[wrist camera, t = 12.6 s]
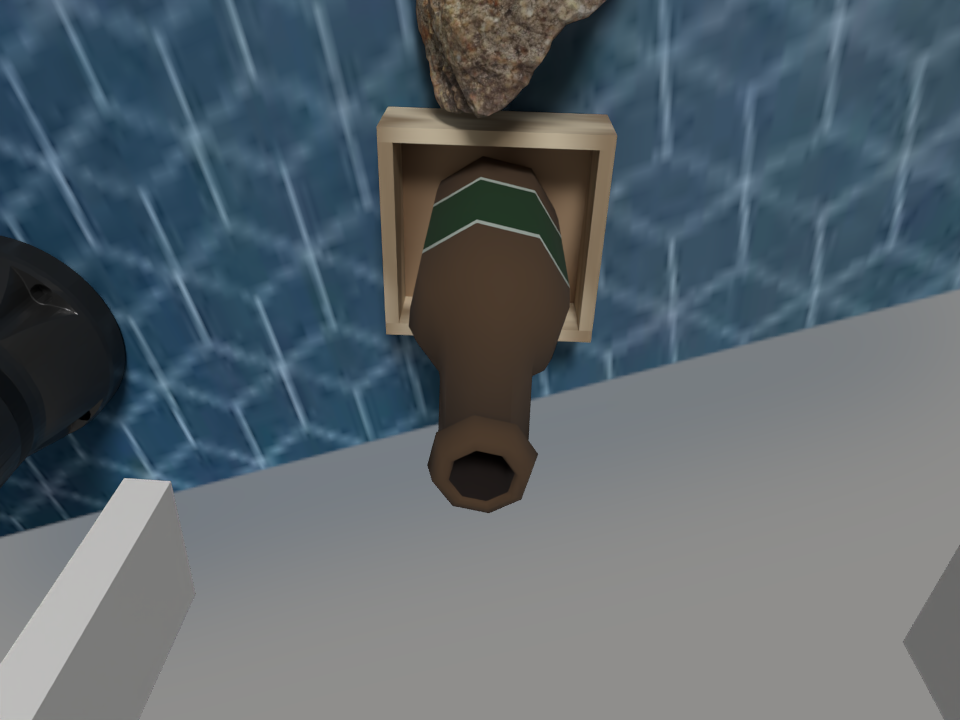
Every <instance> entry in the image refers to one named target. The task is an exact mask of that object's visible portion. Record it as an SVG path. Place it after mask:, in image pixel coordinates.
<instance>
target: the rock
mask: <svg viewBox="0 0 960 720" xmlns="http://www.w3.org/2000/svg"><path fill="white" fill-rule="evenodd" d="M605 1H606V0H416V14H417V23H418V29H419V32H420V34H421V36H422V40H423V43H424V45H425V51H426V58H427V59H428V61H429V66H430V77H431V80H432V84H433V87H434V94H435V98H436V100H437V102H438V103H439V105H440V107H441V109H445V110H447V111H448V112H453V113H456V114H461V113H463V112H465V113H474V115H475V116H476V117H477V118H481V117H486V116H490V115H491V114H493V113H495V112H498V111H501V110H502V109H503V108H505V107H506V106H507V105H508V104H509V103H510V102H511V101H512V100H513V99H515V98H516V97H517V95H518V94H519V93H520V91H521V90H522V89H523V88H524V87H526V86H527V85H528V83H529V81H530V79H531V77H532V75H533V73H534V70H535V69H536V68H537V67H538V66H539V64H540V63H541V62H542V61H543V59H544V58H545V56H546V54H547V53H548V51H549V50H550V47H551V43H552V41H553V40H554V39H555V37H556V36H557V35H558V34H559V33H560V32H561V31H562V29H563V28H564V27H565V26H566V25H567V24H570V23H573V22H575V21H578V20H582V19H585V18H587V17H589V16H590V15H591V14H592V13H593V12H595V11H596V10H597V9H598V8H599V7H600V6H601V5H602V4H603V3H604V2H605Z"/></svg>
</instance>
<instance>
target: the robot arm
mask: <svg viewBox="0 0 960 720" xmlns="http://www.w3.org/2000/svg"><path fill="white" fill-rule="evenodd" d="M124 369H125V350H124V344H123V340H122V336H121V333H120V330H119V328H118V325H117V323H116V321H115V319H114V317H113V315H112V314H111V312H110V310H109V309H108V307H107V306H106V304H105V303H104V301H103V300H102V299H101V297H100V296H99V295H98V294H97V293H96V291H95V290H94V289H93V288H92V287H91V286H90V285H89V284H88V283H87V282H86V281H85V280H84V279H83V278H82V277H81V276H79V275H78V274H77V273H76V272H75V271H73V270H72V269H71V268H69V267H68V266H67V265H65V264H64V263H62V262H61V261H59V260H58V259H56V258H55V257H53V256H51V255H50V254H48V253H46V252H44V251H42V250H40V249H38V248H36V247H34V246H31V245H29V244H26V243H24V242H21V241H18V240H15V239H11V238H8V237H4V236H0V488H1V487H2V486H3V484H4V483H5V482H6V481H7V480H8V478H9V477H10V476H11V475H12V473H13V472H14V471H15V470H16V469H17V467H18V466H19V465H20V464H21V463H22V462H23V461H24V459H25V458H26V457H28V456H29V455H31V454H33V453H35V452H37V451H39V450H41V449H42V448H44V447H46V446H48V445H50V444H52V443H54V442H56V441H57V440H59V439H61V438H63V437H65V436H66V435H68V434H70V433H72V432H74V431H76V430H78V429H79V428H81V427H83V426H85V425H86V424H87V423H89V422H90V421H91V420H92V419H94V418H95V417H96V416H97V415H98V414H99V413H100V412H101V410H102V409H103V408H104V407H105V405H106V404H107V403H108V402H109V400H110V399H111V398H112V397H113V395H114V394H115V393H116V391H117V389H118V388H119V385H120V383H121V381H122V378H123V374H124ZM195 594H196V593H195V588H194V584H193V579H192V575H191V570H190V566H189V561H188V557H187V553H186V548H185V543H184V539H183V534H182V530H181V525H180V521H179V516H178V512H177V507H176V503H175V498H174V493H173V489H172V484H171V481H158V480H143V479H129V478H124V479H123V481H122V482H121V484H120V485H119V487H118V488H117V490H116V491H115V493H114V494H113V496H112V497H111V499H110V500H109V502H108V503H107V505H106V506H105V508H104V509H103V511H102V512H101V514H100V515H99V517H98V519H97V520H96V521H95V523H94V524H93V526H92V528H91V529H90V530H89V532H88V533H87V535H86V536H85V538H84V539H83V541H82V543H81V544H80V545H79V547H78V548H77V550H76V551H75V553H74V555H73V556H72V558H71V559H70V560H69V562H68V563H67V565H66V566H65V568H64V569H63V571H62V572H61V574H60V575H59V577H58V578H57V580H56V581H55V583H54V584H53V586H52V588H51V589H50V590H49V592H48V593H47V595H46V596H45V598H44V599H43V601H42V602H41V604H40V605H39V607H38V608H37V610H36V611H35V613H34V614H33V616H32V617H31V619H30V620H29V622H28V623H27V625H26V626H25V628H24V629H23V631H22V632H21V634H20V636H19V637H18V638H17V640H16V641H15V643H14V644H13V646H12V647H11V649H10V651H9V652H8V653H7V655H6V657H5V658H4V659H3V661H2V662H1V664H0V720H139V718H140V716H141V714H142V712H143V709H144V707H145V705H146V703H147V701H148V698H149V696H150V694H151V692H152V689H153V687H154V685H155V683H156V680H157V678H158V676H159V674H160V672H161V669H162V667H163V665H164V663H165V661H166V659H167V656H168V654H169V652H170V650H171V647H172V645H173V643H174V641H175V639H176V636H177V634H178V632H179V630H180V627H181V625H182V623H183V621H184V619H185V616H186V614H187V612H188V610H189V608H190V605H191V603H192V601H193V599H194V597H195ZM903 643H904V645H905V647H906V649H907V651H908V653H909V654H910V656H911V658H912V660H913V662H914V664H915V665H916V667H917V669H918V671H919V673H920V675H921V677H922V679H923V681H924V682H925V684H926V686H927V688H928V690H929V692H930V694H931V696H932V698H933V699H934V701H935V703H936V705H937V707H938V709H939V711H940V713H941V715H942V716H943V718H944V720H960V545H959V547H958V549H957V550H956V552H955V554H954V556H953V557H952V559H951V561H950V562H949V564H948V566H947V568H946V570H945V571H944V573H943V575H942V576H941V578H940V579H939V581H938V583H937V585H936V586H935V588H934V590H933V591H932V593H931V595H930V597H929V598H928V600H927V602H926V603H925V605H924V607H923V608H922V610H921V612H920V614H919V615H918V617H917V619H916V620H915V622H914V624H913V625H912V627H911V629H910V631H909V632H908V634H907V636H906V637H905V639H904V641H903Z"/></svg>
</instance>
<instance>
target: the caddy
mask: <svg viewBox="0 0 960 720" xmlns="http://www.w3.org/2000/svg"><path fill="white" fill-rule="evenodd" d="M616 140H617V134H616V132H615V130H614V128H613V126H612V124H611V122H610V120H609V118H608V115H601V114H573V113H546V112H519V111H498V112H495V113H493V114H491V115H490V116H486V117H481V118H477V117H476V116H475V115H474V113H465V112H463V113H461V114H456V113H453V112H448V111H447V110H445V109H437V108H409V107H388V108H387V109H386V111H385V113H384V115H383V116H382V118H381V120H380V122H379V123H378V125H377V146H378V167H379V188H380V210H381V231H382V252H383V274H384V295H385V317H386V334H393V335H413V334H412V332H411V330H410V328H409V315H410V306H411V301H412V297H413V292H414V288H415V283H416V279H417V274H418V270H419V265H420V260H421V256H422V252H423V247H424V243H425V239H426V235H427V231H428V226H429V222H430V218H431V214H432V210H433V205H434V201H435V197H436V193H437V189H438V187H439V184H440V182H441V181H442V180H444V179H445V178H447V177H449V176H450V175H452V174H454V173H455V172H457V171H459V170H460V169H462V168H464V167H465V166H467V165H469V164H470V163H472V162H474V161H476V160H477V159H479V158H481V157H482V156H485V157H489V158H493V159H497V160H501V161H505V162H509V163H513V164H516V165H520V166H524V167H528V168H531V169H532V170H533V172H534V174H535V175H536V177H537V179H538V181H539V182H540V184H541V186H542V188H543V189H544V191H545V193H546V195H547V196H548V198H549V200H550V202H551V203H552V205H553V207H554V209H555V211H556V214H557V217H558V220H559V226H560V232H561V238H562V244H563V250H564V256H565V262H566V268H567V274H568V280H569V286H570V308H569V310H568V313H567V316H566V319H565V322H564V325H563V327H562V330H561V333H560V336H559V339H558V341H569V342H591V335H592V328H593V320H594V312H595V304H596V296H597V289H598V281H599V273H600V265H601V257H602V250H603V242H604V234H605V226H606V218H607V211H608V203H609V195H610V187H611V179H612V172H613V164H614V156H615V148H616Z"/></svg>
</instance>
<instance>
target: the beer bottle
mask: <svg viewBox="0 0 960 720" xmlns="http://www.w3.org/2000/svg"><path fill="white" fill-rule="evenodd" d="M569 308H570V286H569V280H568V274H567V268H566V262H565V256H564V250H563V244H562V238H561V232H560V226H559V220H558V217H557V214H556V211H555V209H554V207H553V205H552V203H551V202H550V200H549V198H548V196H547V195H546V193H545V191H544V189H543V188H542V186H541V184H540V182H539V181H538V179H537V177H536V175H535V174H534V172H533V170H532V169H531V168H528V167H524V166H520V165H516V164H513V163H509V162H505V161H501V160H497V159H493V158H489V157H485V156H482V157H481V158H479V159H477V160H476V161H474V162H472V163H470V164H469V165H467V166H465V167H464V168H462V169H460V170H459V171H457V172H455V173H454V174H452V175H450V176H449V177H447V178H445V179H444V180H442V181H441V182H440V184H439V187H438V189H437V193H436V197H435V201H434V205H433V210H432V214H431V218H430V222H429V226H428V231H427V235H426V239H425V243H424V247H423V252H422V256H421V260H420V265H419V270H418V274H417V279H416V283H415V288H414V292H413V297H412V301H411V306H410V315H409V328H410V330H411V332H412V334H413V336H414V338H415V340H416V341H417V343H418V344H419V346H420V347H421V348H422V350H423V351H424V352H425V354H426V355H427V356H428V358H429V359H430V360H431V362H432V363H433V364H434V366H435V367H436V368H437V370H438V371H439V374H440V396H439V430H438V432H437V433H436V435H435V439H434V443H433V446H432V450H431V454H430V458H429V461H428V469H429V472H430V475H431V478H432V482H434V484H435V485H436V486H437V488H438V489H439V490H440V491H441V492H442V494H443V495H444V496H445V497H446V498H447V500H448V501H449V502H450V503H451V504H452V505H453V506H456V507H462V508H467V509H471V510H477V511H482V512H486V513H490V512H493V511H495V510H497V509H500V508H502V507H504V506H507V505H509V504H512V503H514V502H516V501H518V500H521V499H522V496H523V493H524V491H525V488H526V485H527V483H528V480H529V477H530V475H531V472H532V469H533V466H534V464H535V461H536V458H537V455H538V453H537V452H536V451H535V449H534V448H533V446H532V445H531V444H530V442H529V441H528V439H529V420H530V402H531V384H532V376H533V375H535V374H538V373H540V372H542V371H544V370H545V368H546V366H547V365H548V363H549V362H550V360H551V358H552V356H553V353H554V350H555V347H556V344H557V342H558V339H559V336H560V333H561V330H562V327H563V325H564V322H565V319H566V316H567V313H568V310H569Z"/></svg>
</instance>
